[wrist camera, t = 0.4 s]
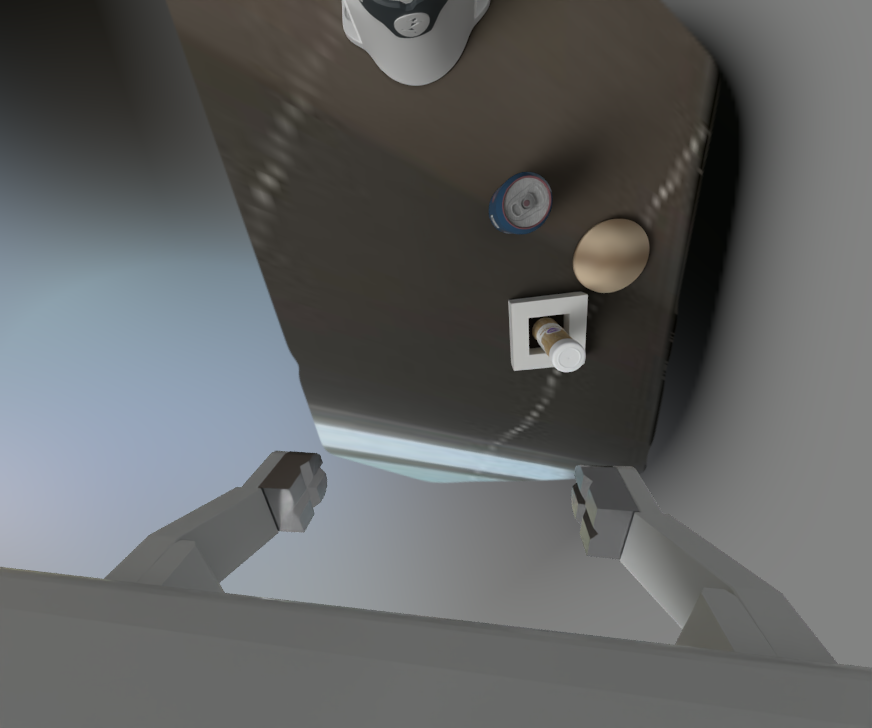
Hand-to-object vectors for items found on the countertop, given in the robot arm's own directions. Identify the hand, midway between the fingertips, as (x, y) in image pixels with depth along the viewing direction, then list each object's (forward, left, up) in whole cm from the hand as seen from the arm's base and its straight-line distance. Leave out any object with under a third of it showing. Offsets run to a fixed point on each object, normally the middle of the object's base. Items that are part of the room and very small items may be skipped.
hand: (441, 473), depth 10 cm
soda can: (-9, +10, -47) cm, 49 cm away
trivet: (0, +25, -47) cm, 53 cm away
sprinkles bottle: (+11, +15, -47) cm, 50 cm away
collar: (+11, +15, -47) cm, 50 cm away
